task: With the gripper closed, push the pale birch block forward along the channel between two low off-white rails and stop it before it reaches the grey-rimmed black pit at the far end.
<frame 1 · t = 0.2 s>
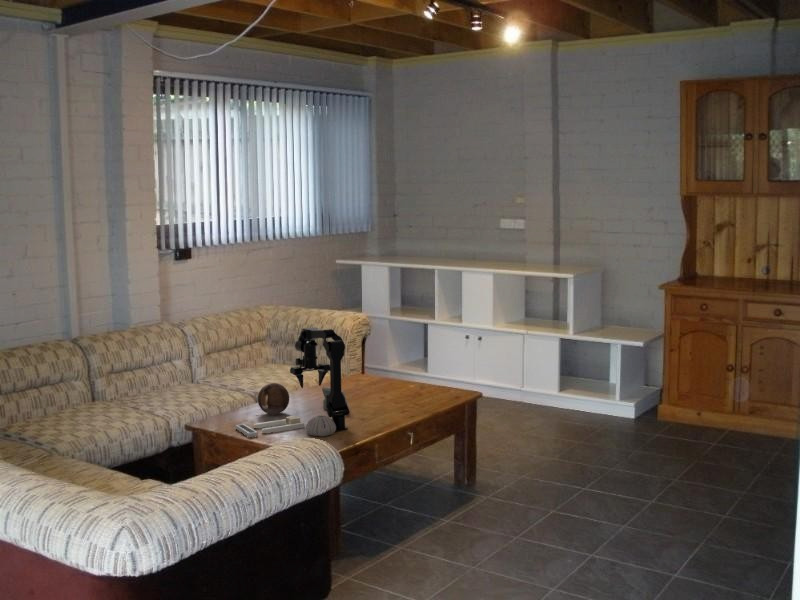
hand: (310, 386, 425), 14 cm above the table, tool pointing down, fingers open, 9 cm apart
pit: (246, 433, 399), on the table
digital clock: (335, 409, 439), on the table
sea urchin shell: (321, 434, 397), on the table
wooden sphere: (273, 414, 431), on the table
birch block: (293, 426, 410), on the table
channel: (278, 427, 407), on the table
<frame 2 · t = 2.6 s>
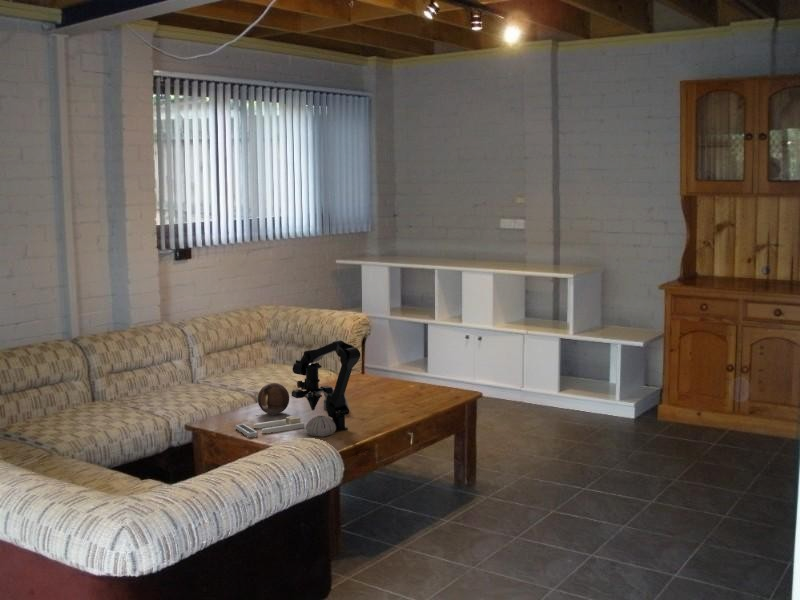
hand: (312, 410, 415), 6 cm above the table, tool pointing down, fingers closed
nothing on the table moved.
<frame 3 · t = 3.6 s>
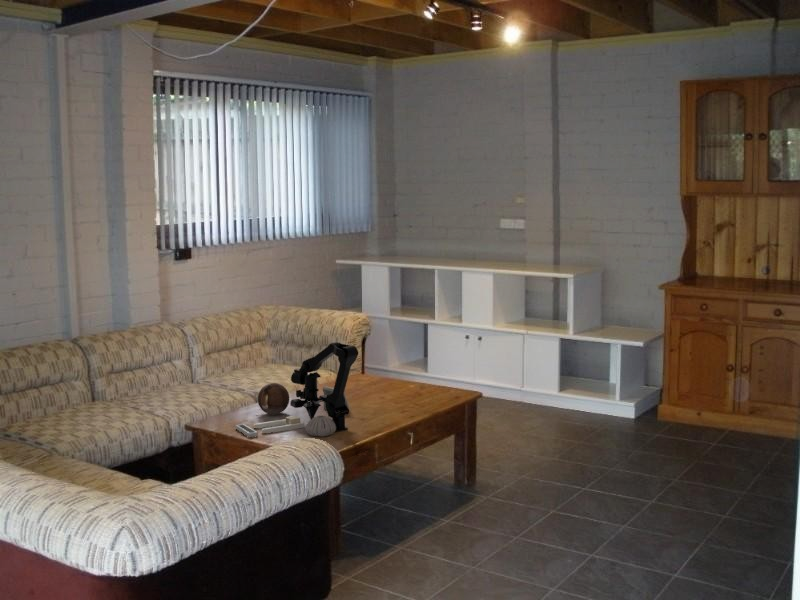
hand: (311, 419, 415), 2 cm above the table, tool pointing down, fingers closed
nothing on the table moved.
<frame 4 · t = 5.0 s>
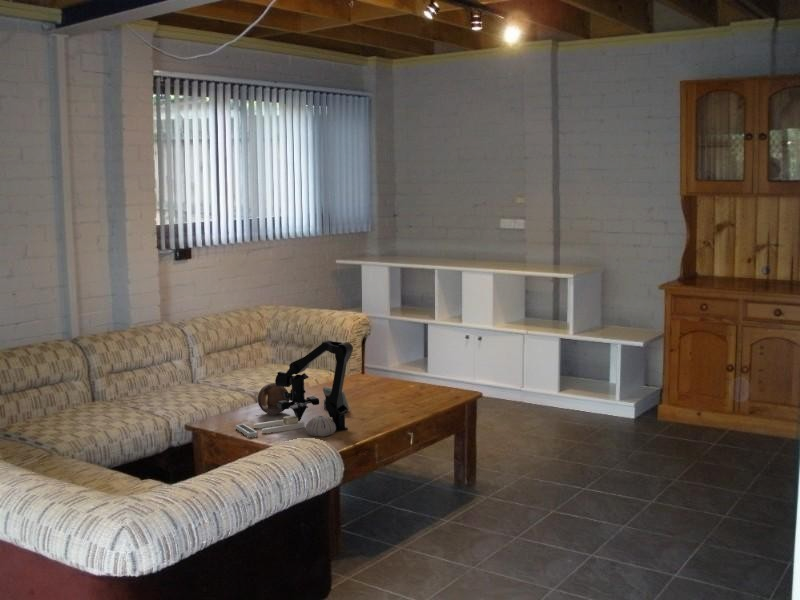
hand: (298, 421, 412), 2 cm above the table, tool pointing down, fingers closed
birch block: (290, 426, 410), on the table, touching gripper
everything else where it was.
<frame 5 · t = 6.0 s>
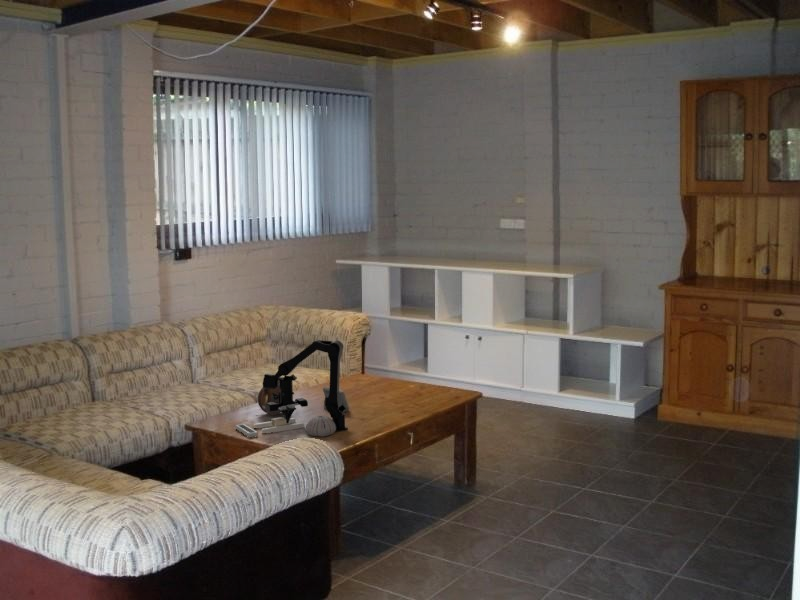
hand: (287, 423, 409), 2 cm above the table, tool pointing down, fingers closed
birch block: (279, 427, 407), on the table, touching gripper
everything else where it was.
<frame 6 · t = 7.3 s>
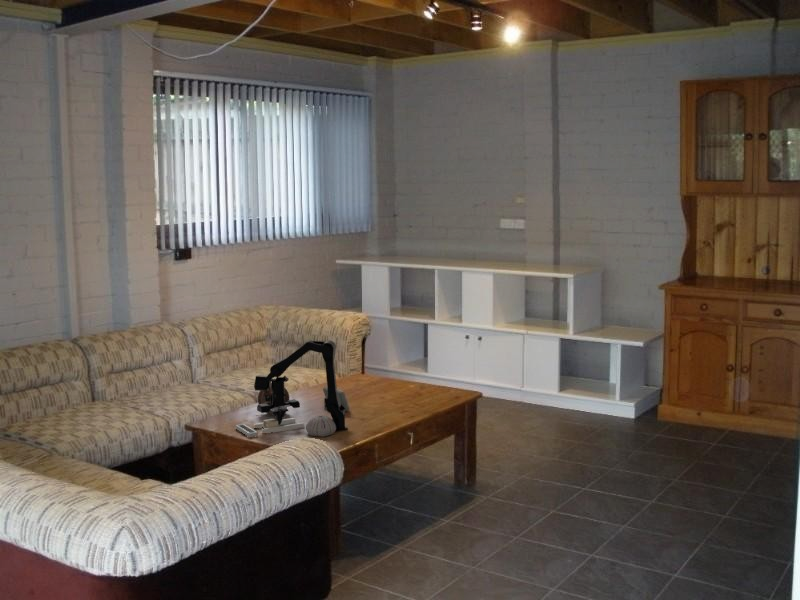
hand: (279, 424, 407), 2 cm above the table, tool pointing down, fingers closed
birch block: (270, 429, 405), on the table, touching gripper
everything else where it was.
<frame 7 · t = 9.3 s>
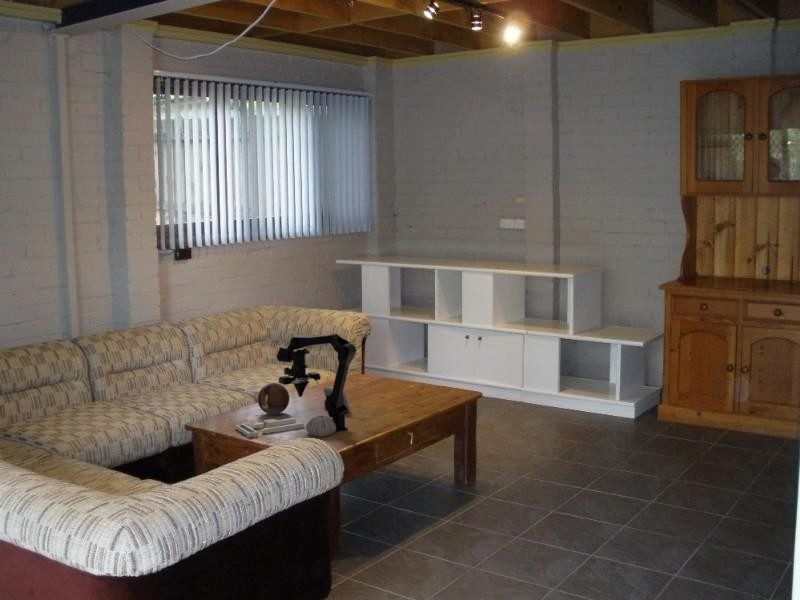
hand: (300, 396, 412), 13 cm above the table, tool pointing down, fingers closed
birch block: (270, 429, 405), on the table
everything else where it was.
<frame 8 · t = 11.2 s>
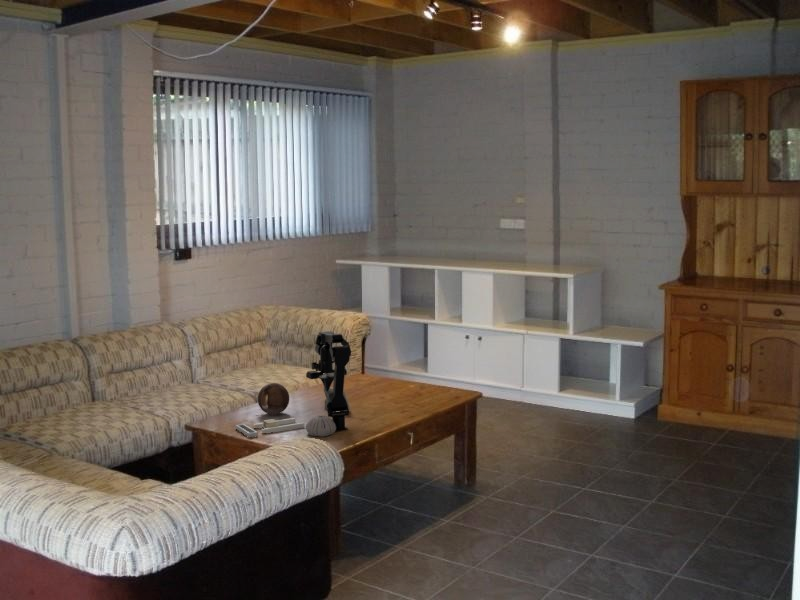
hand: (327, 391, 421), 13 cm above the table, tool pointing down, fingers closed
nothing on the table moved.
at the end: birch block inside the target area (0.3 cm from its centre), on the table; birch block touching table; birch block tilted 0° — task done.
